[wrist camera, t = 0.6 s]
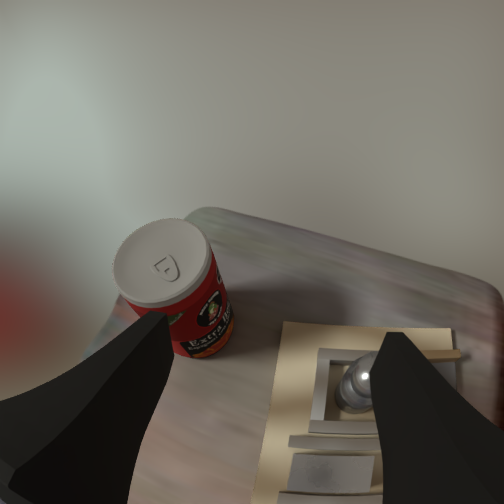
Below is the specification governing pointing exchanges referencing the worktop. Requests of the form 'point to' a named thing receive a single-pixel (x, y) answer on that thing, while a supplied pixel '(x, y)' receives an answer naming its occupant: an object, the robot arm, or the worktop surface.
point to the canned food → (176, 284)
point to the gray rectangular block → (330, 473)
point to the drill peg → (356, 386)
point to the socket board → (329, 405)
